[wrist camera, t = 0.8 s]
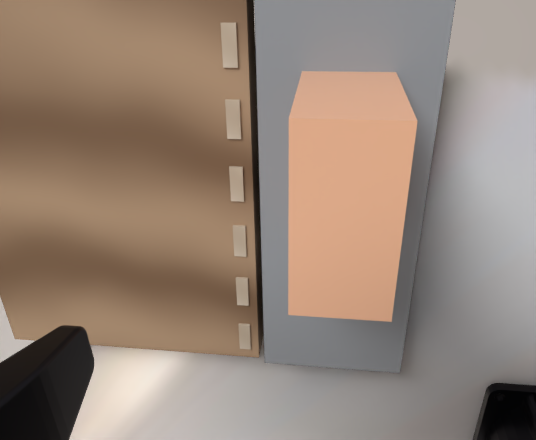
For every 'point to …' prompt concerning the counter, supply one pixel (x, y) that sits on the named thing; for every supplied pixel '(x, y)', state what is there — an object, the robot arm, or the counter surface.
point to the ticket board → (131, 173)
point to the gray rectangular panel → (344, 172)
